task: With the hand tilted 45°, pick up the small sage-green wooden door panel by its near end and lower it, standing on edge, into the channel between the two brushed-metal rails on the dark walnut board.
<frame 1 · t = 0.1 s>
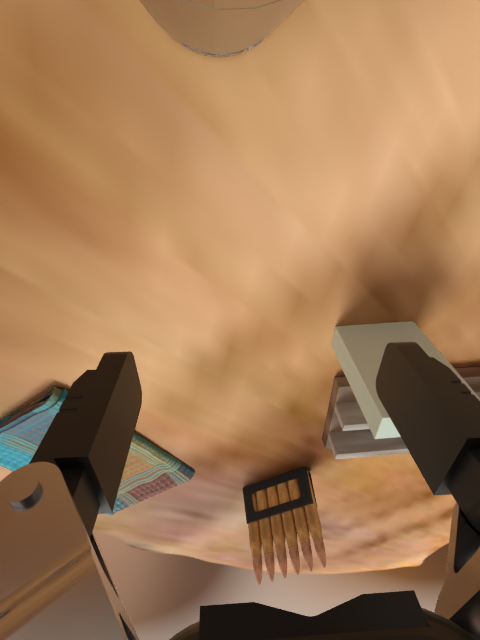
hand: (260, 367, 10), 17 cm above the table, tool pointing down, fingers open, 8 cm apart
door panel: (371, 333, 33), on the table
ammunition clip: (275, 478, 49), on the table
dish towel: (92, 451, 43), on the table
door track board: (429, 402, 40), on the table
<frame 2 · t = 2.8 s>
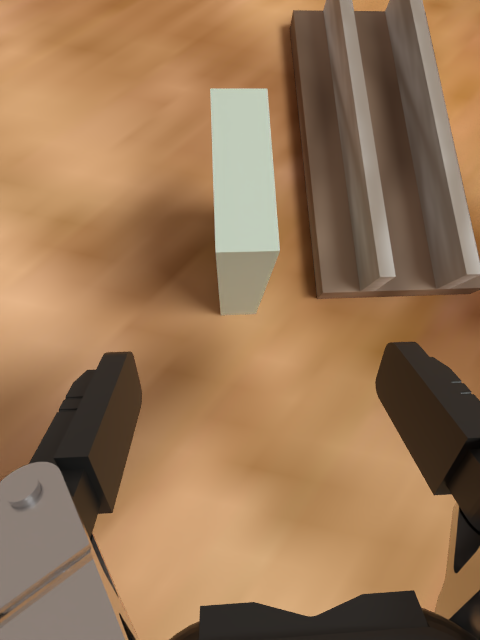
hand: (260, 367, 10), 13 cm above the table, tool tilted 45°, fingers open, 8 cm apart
door panel: (235, 263, 24), on the table
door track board: (371, 149, 27), on the table
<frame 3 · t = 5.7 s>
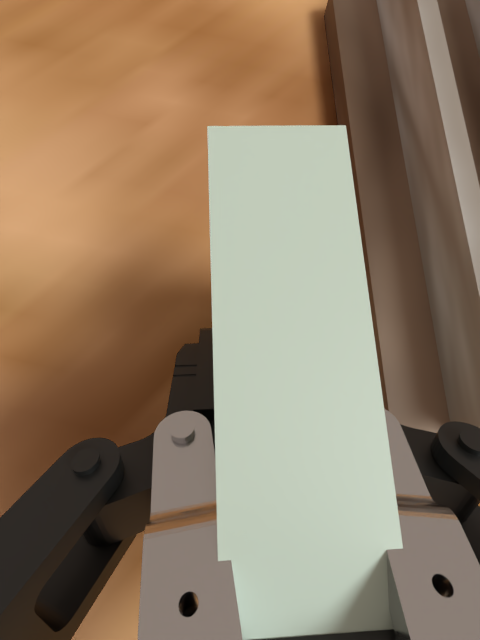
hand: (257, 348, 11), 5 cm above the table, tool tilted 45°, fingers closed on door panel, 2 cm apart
door panel: (249, 373, 16), on the table, touching gripper
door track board: (448, 190, 18), on the table
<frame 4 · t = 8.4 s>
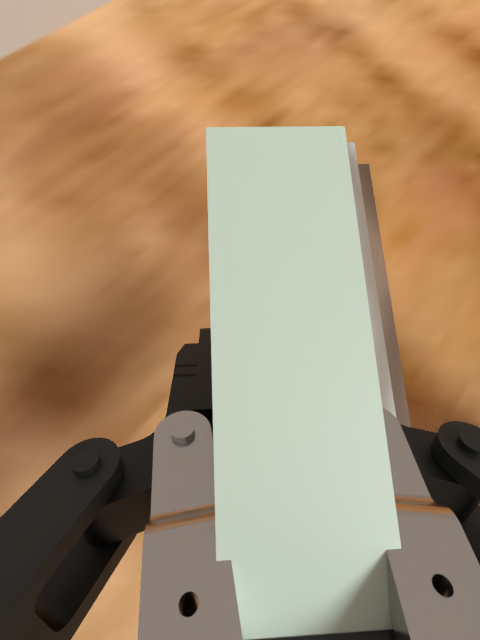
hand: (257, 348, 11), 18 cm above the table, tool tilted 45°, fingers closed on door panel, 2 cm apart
door panel: (249, 374, 16), point 13 cm above the table, touching gripper
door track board: (320, 293, 31), on the table
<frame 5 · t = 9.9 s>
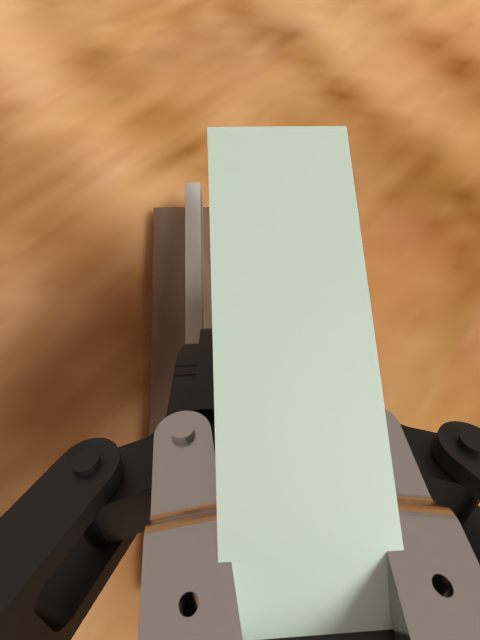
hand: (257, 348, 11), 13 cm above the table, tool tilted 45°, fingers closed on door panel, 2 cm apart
door panel: (249, 374, 16), point 8 cm above the table, touching gripper
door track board: (238, 378, 23), on the table
when the fingers open (7 cm above the table, at t = 11.2 s): door panel stays where it is, resting on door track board.
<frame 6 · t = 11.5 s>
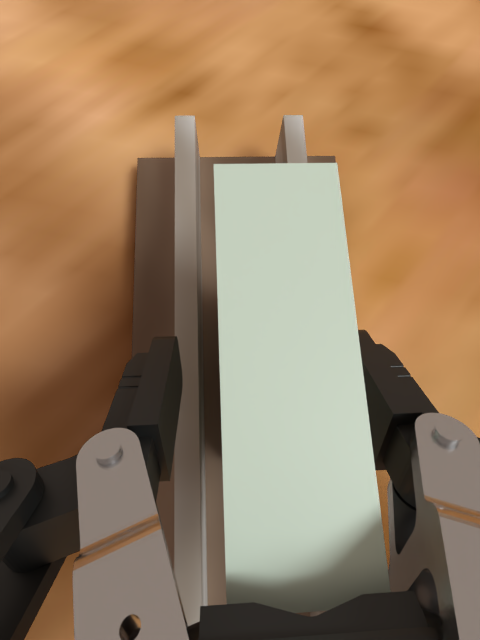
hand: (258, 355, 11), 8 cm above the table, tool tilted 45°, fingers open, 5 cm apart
door panel: (249, 377, 17), point 2 cm above the table, touching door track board
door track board: (246, 374, 18), on the table
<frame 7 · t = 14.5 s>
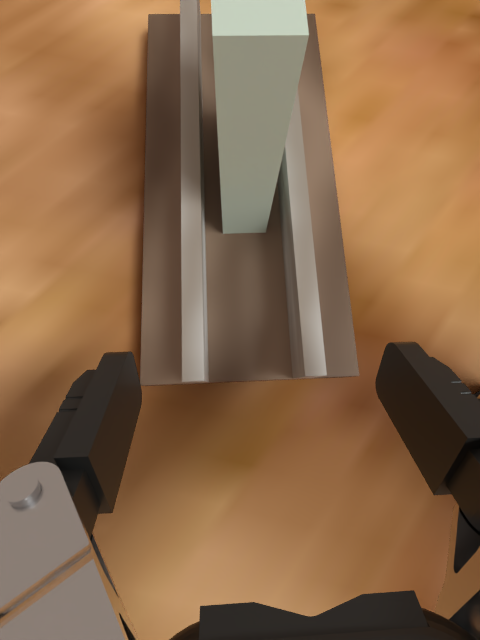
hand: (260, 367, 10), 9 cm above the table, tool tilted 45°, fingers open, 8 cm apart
door panel: (241, 175, 20), point 1 cm above the table, touching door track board
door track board: (239, 186, 22), on the table
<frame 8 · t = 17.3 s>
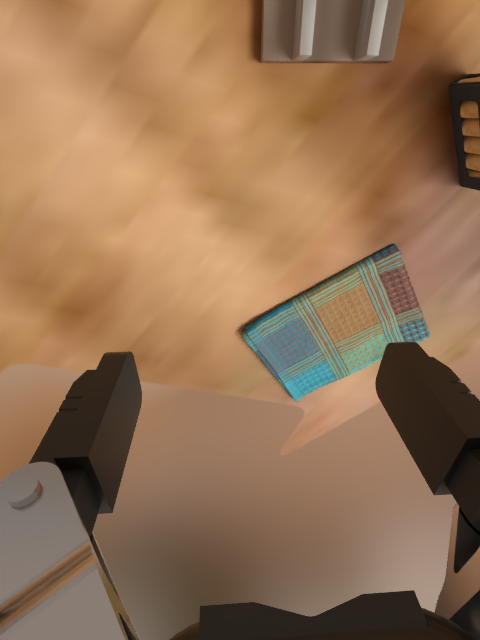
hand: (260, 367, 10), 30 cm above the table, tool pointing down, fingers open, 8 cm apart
ammunition clip: (462, 135, 34), on the table
dish towel: (333, 327, 48), on the table
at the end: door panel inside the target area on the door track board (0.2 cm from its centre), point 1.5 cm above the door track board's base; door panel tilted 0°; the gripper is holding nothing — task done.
